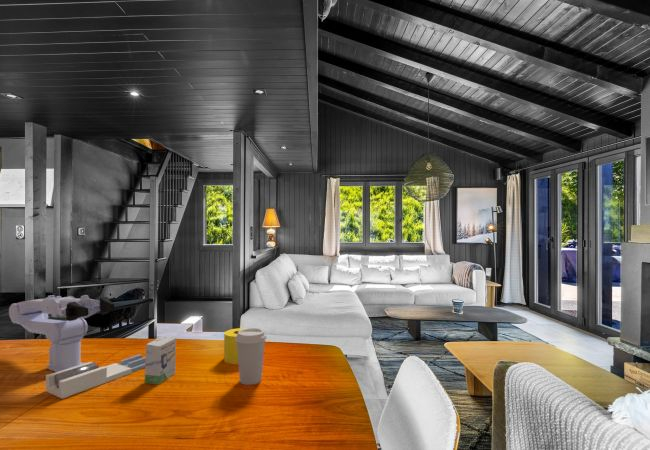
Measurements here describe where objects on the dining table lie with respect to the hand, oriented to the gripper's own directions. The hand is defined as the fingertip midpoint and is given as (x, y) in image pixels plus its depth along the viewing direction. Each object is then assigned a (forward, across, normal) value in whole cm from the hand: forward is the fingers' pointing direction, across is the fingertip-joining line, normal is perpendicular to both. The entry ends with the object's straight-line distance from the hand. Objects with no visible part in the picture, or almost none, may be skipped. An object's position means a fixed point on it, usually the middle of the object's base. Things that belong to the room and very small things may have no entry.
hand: (100, 309), depth 111 cm
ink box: (+13, +10, +23) cm, 28 cm away
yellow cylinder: (+22, +35, +23) cm, 48 cm away
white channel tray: (-3, -2, +22) cm, 22 cm away
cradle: (-3, +12, +21) cm, 25 cm away
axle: (-2, -6, +18) cm, 19 cm away
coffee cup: (+38, +24, +24) cm, 51 cm away
